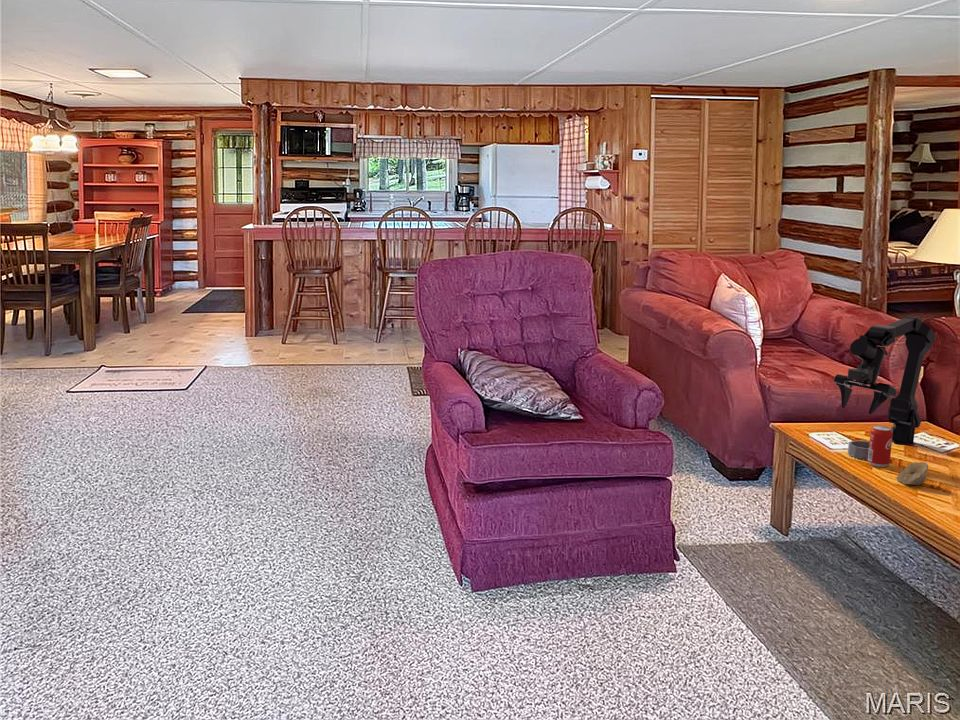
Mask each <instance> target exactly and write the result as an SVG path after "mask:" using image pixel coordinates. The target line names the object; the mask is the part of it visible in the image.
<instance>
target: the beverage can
mask: <svg viewBox="0 0 960 720" xmlns="http://www.w3.org/2000/svg"><path fill="white" fill-rule="evenodd" d="M892 437H893V433H892V431H891V427H889V426H885V425H874V426H873V428H872V429H871V430H870V435H869V442H870V443H869V452H868V460H867V462H868V464H870V466H873V467H876V468H885V467H887V466H888V465H889V464H890V463H891V453H892V444H893V441H892Z"/></svg>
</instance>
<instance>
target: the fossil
mask: <svg viewBox="0 0 960 720" xmlns="http://www.w3.org/2000/svg"><path fill="white" fill-rule="evenodd" d="M928 469H929V464H928V463H927V462H923V461H921V462H919V461H918V462H915V461H914V462H912V463H910V464H908V465H906V467H905V468H904V469H902V471H901V472H900V473H898V474H897V476H896V481H897V482H898V483H900V484H901V483H902V484H903V485H912V486H920V485H921V484H924V483H925V482H926V480H927V479H926V478H927V472H928Z"/></svg>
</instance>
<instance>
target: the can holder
mask: <svg viewBox="0 0 960 720" xmlns="http://www.w3.org/2000/svg"><path fill="white" fill-rule="evenodd" d="M869 443H870V441H866V440H851V441H849V442H848V446H847V455H848V454H849V455H850V456H851V457H850V456H849V455H848V456H849V457H850V458H853V457H855V458H854V459H856V458H859V459H858V460H860V459H864V460H863V461H868V452H869Z"/></svg>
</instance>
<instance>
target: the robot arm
mask: <svg viewBox="0 0 960 720" xmlns="http://www.w3.org/2000/svg"><path fill="white" fill-rule="evenodd" d="M902 336H903V337H904V338H905V341H904V344H905V347H906V350H907V357H906V362H905V365H904V369H903V374H902V379H901V385H900V388H899V391H898V394H897V389H896V387H894V386H892V385H891V384H889V383H888V384H887V383H884V382H878V383H877V379H878V376H879V375H881V374H882V370H881V367H882V364H883V362H884V361H883V360H884V357H885V356H886V357H887V356H888V353H889V352H888V351H887V350H886V347H889V346H891V345H892V344H893V343H895V342H896V338H897V337H902ZM935 340H936V334H935V332H934V330H933V329H932V327H930V326H929V325H928V324H926V323H925V322H923V321H922V319H920V318H919V317H916V316H903V317H902V318H901V319H899V320H896V321H893V322H891V323H889V324H886V325H872V326H870V327H869V328H868V329H867V331H866V332H865V333H864V334H863V335H862V334H860V335H859V337H858V338H856V339H854V340H853V341H852V342H851V343H850V346H849V351H850V353H851V355H854V356H855V357H857V358H859V359H860V360H862V361H861V363H858V365H857V367H856V368H855V367H854V368H848V369H847V370H848V371H847V375H843V374H839V373H838V374H836V375H835V376H833V380H832V381H833V383H835V385H836V386H837V387H838V388H839V391H840V396H841V397H840V399H841V408H842V409H845V408H846V406H847V405H848V402H849V401H850V398H851V394H852V392H853V389H852V388H853V387H856V388H862V389H867V390H871V391H873V398H872V401H871V404H870V407H869V410H868V415H872V414H873V413H874V412H875V411H876V410H877V409H878V408H879V407H880V406H881V405H882V404H883V403H884V402H886V401H887V400H890V404H889V407H888V411H887V415H888V423H890V424H893V425H892V426H891V427H890V428H891V431H892V433H893V437H892V443H894V444H897V445H911V446H913V445H915V446H916V443H915V442H914V440H915V439H914V438H915V433H916V428H917V429H918V428H919V427H920V426H921V423H922V419H921V416H920V415H919V412H918V409H919V408H918V407H919V405H918V403H917V400H916V397H915V396H916V391H917V387H918V383H919V379H920V376H921V375H920V374H921V370H922V365H923V362H924V357H925V355H926V354H927V353H928V352H929V351H930V350H931V349H932V347H933V344H934V342H935Z"/></svg>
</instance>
